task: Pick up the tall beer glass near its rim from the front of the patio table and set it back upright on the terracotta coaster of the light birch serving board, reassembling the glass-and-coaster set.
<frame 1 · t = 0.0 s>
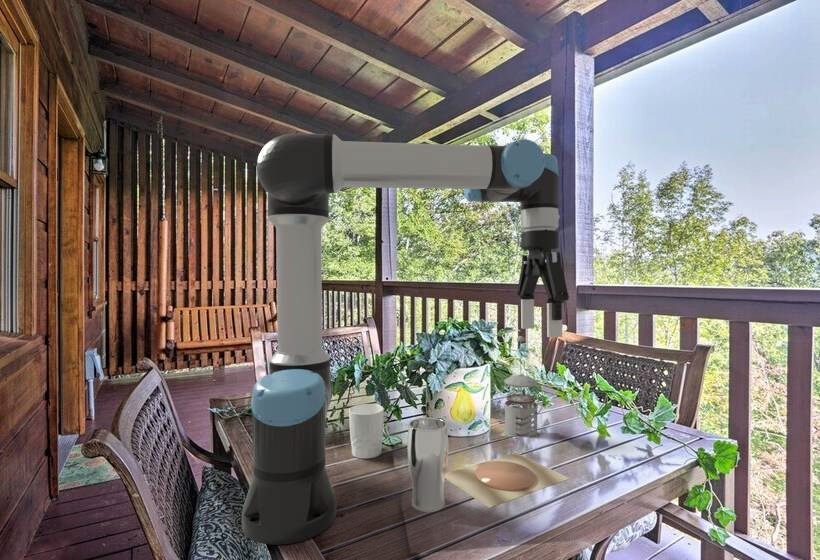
hand: (540, 332, 91), 28 cm above the table, fingers open, 13 cm apart
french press: (523, 436, 108), on the table
coaster: (504, 476, 83), resting on serving board
serving board: (504, 484, 83), on the table
white cup: (366, 453, 98), on the table
beer glass: (428, 512, 74), on the table
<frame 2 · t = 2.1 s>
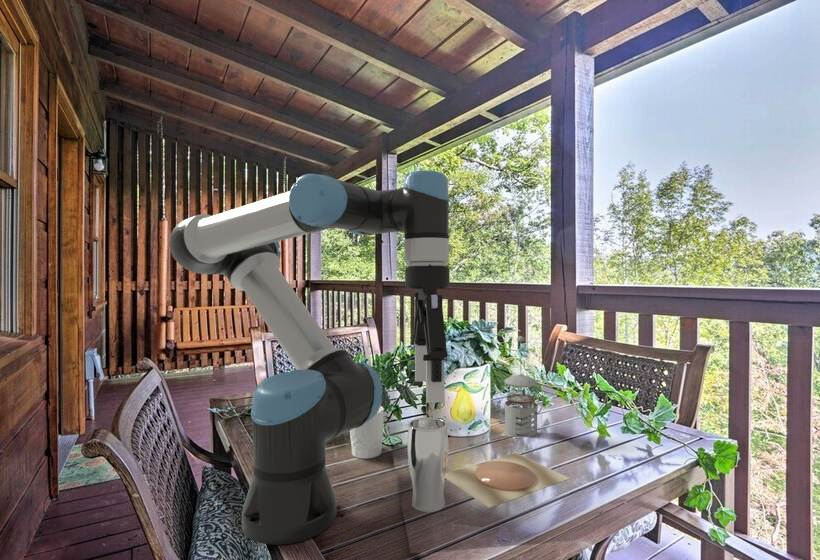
hand: (428, 390, 73), 21 cm above the table, fingers open, 13 cm apart
nothing on the table moved.
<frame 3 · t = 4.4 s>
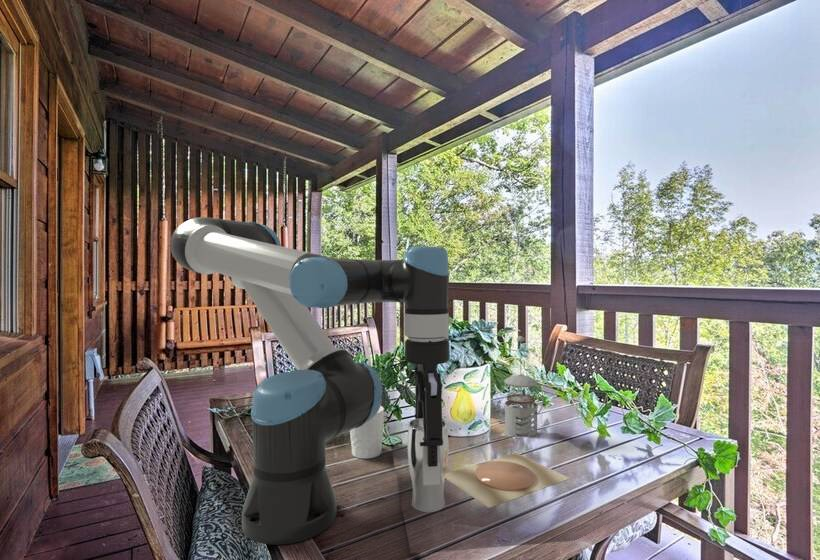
hand: (427, 473, 74), 7 cm above the table, fingers closed on beer glass, 7 cm apart
beer glass: (428, 512, 74), on the table, touching gripper
everything else where it was.
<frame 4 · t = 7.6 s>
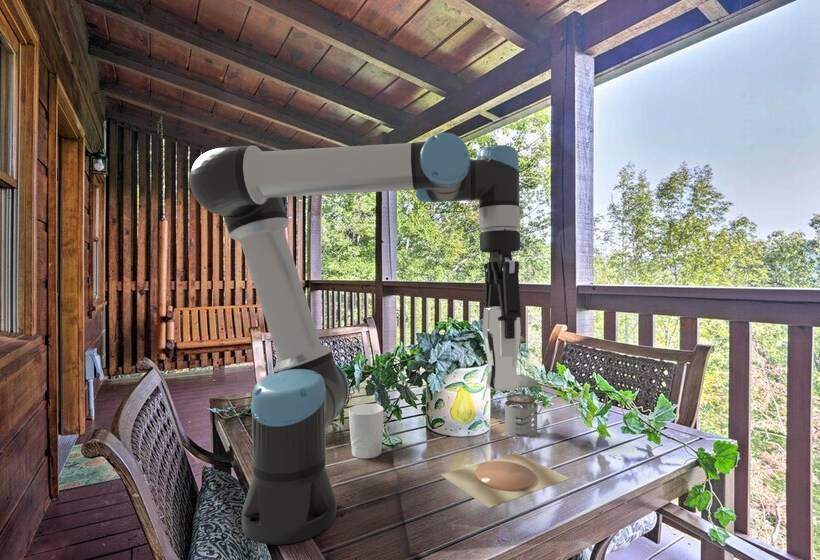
hand: (501, 352, 82), 25 cm above the table, fingers closed on beer glass, 7 cm apart
beer glass: (502, 387, 82), point 19 cm above the table, touching gripper
everything else where it was.
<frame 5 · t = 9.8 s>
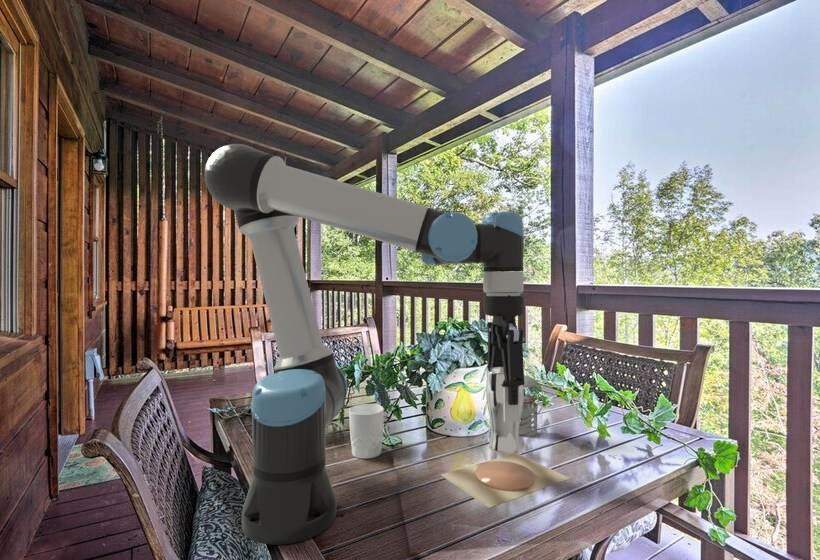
hand: (504, 414, 83), 13 cm above the table, fingers closed on beer glass, 7 cm apart
beer glass: (505, 449, 83), point 7 cm above the table, touching gripper
everything else where it was.
when the fingers open (10 cm above the table, at t = 11.3 s): beer glass drops 2 cm, resting on coaster.
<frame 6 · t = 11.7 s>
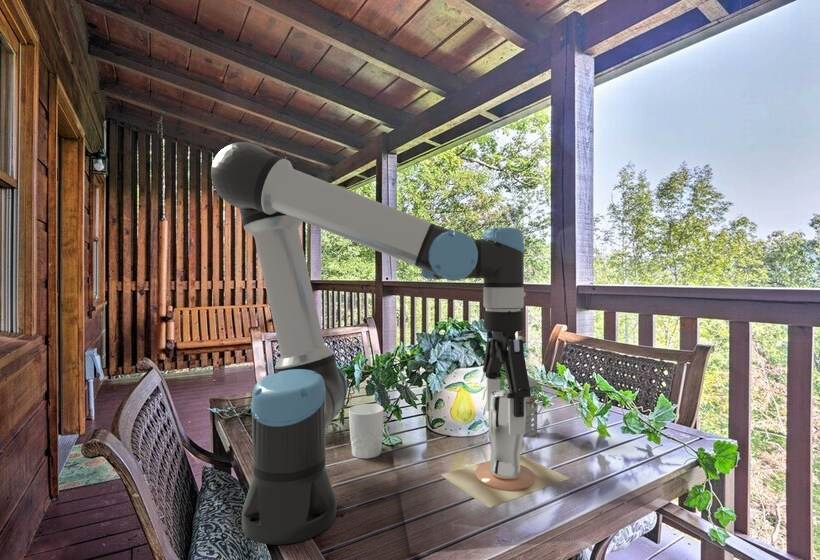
hand: (504, 421, 83), 12 cm above the table, fingers open, 13 cm apart
beer glass: (504, 473, 83), point 2 cm above the table, touching coaster
everything else where it was.
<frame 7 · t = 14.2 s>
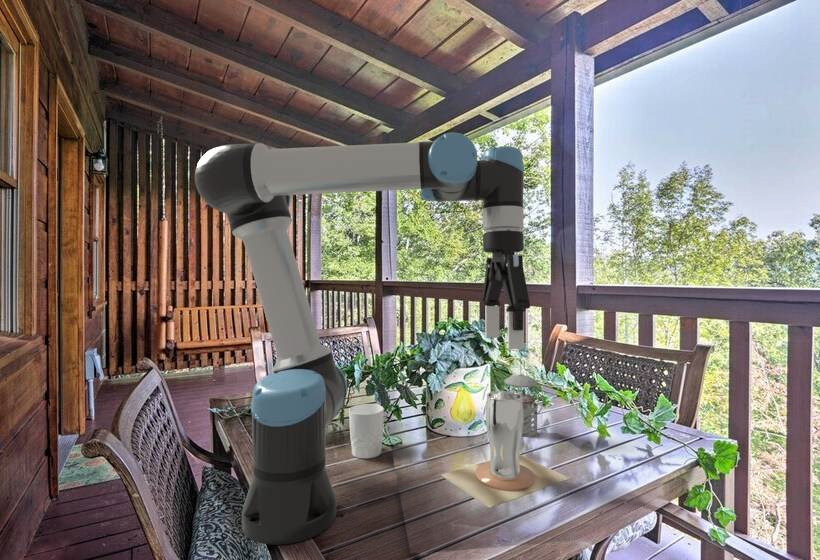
hand: (503, 342, 83), 27 cm above the table, fingers open, 13 cm apart
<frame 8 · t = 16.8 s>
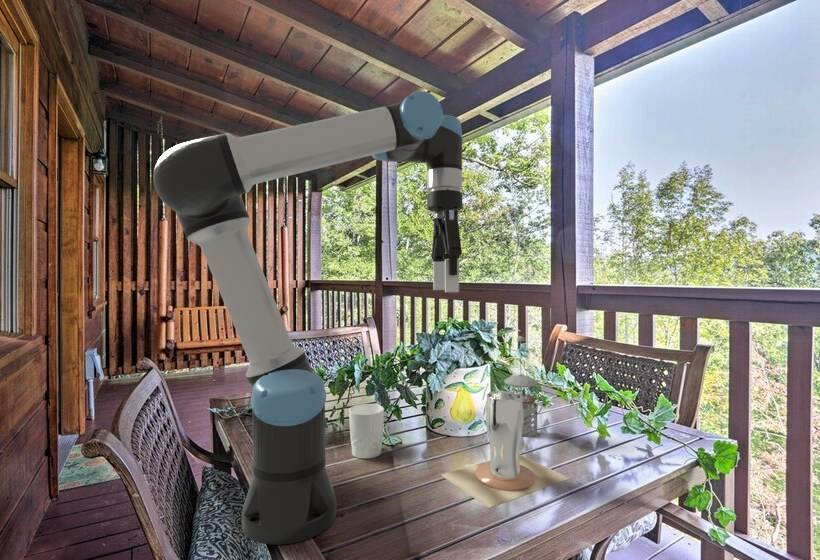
hand: (445, 291, 93), 37 cm above the table, fingers open, 13 cm apart
nothing on the table moved.
at the end: beer glass 0.1 cm off-centre on the coaster, point 0.4 cm above the coaster's base; beer glass tilted 0°; the gripper is holding nothing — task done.
